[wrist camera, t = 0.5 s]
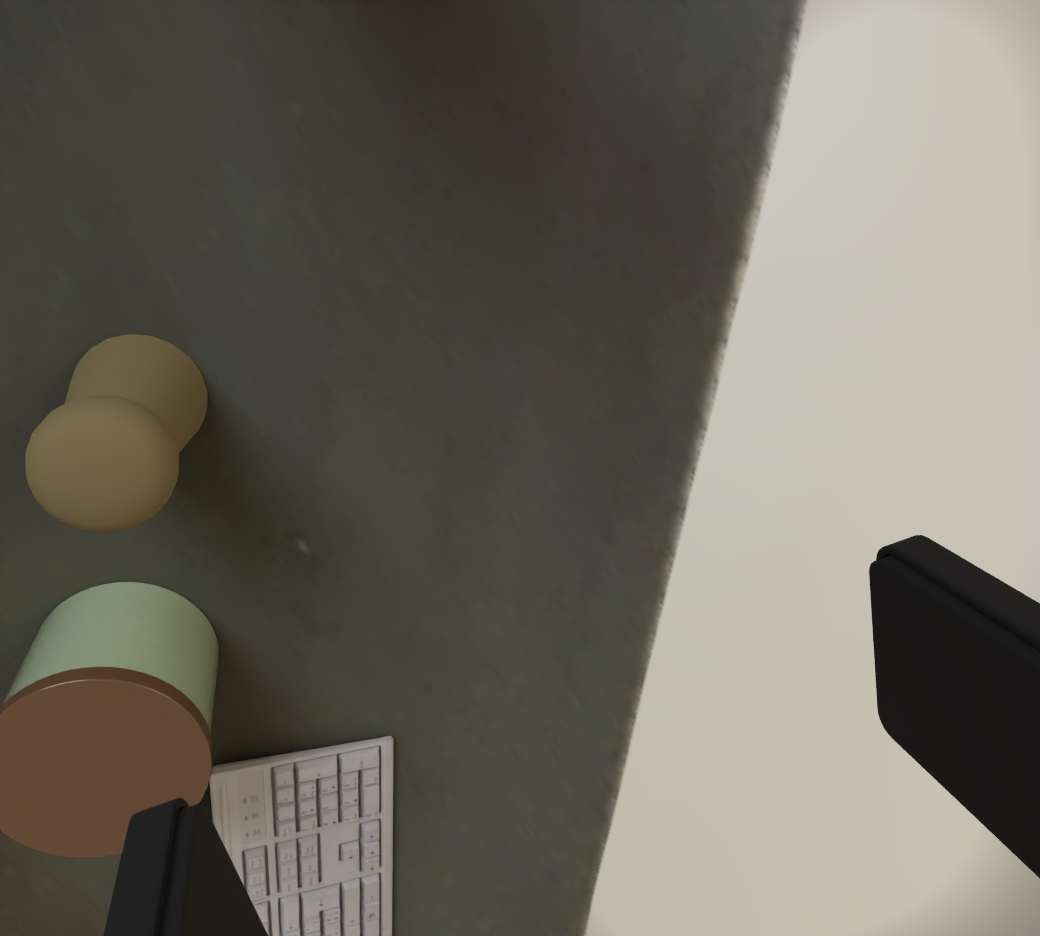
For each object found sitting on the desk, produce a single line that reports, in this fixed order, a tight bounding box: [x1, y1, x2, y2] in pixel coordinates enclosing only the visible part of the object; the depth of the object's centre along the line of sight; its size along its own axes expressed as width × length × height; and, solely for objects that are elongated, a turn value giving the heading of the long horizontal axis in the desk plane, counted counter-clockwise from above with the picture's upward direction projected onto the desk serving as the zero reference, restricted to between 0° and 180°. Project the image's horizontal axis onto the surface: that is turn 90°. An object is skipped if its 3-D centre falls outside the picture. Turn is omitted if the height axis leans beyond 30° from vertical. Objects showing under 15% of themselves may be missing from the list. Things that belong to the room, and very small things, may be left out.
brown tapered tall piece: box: [25, 334, 208, 533], centre depth 35 cm, size 6×6×11 cm
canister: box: [0, 582, 219, 858], centre depth 40 cm, size 9×9×9 cm
